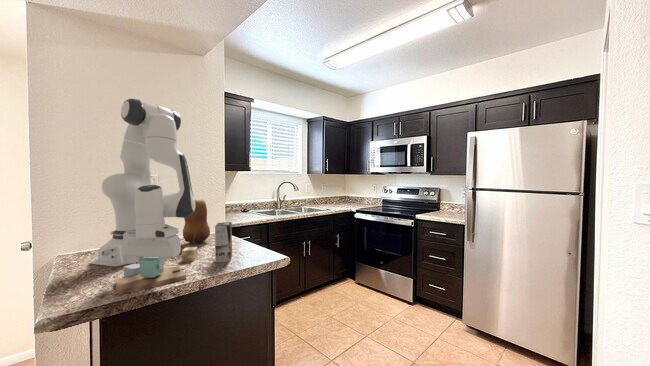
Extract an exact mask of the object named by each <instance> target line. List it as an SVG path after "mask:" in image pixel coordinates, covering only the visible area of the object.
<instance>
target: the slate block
mask: <svg viewBox="0 0 650 366" xmlns="http://www.w3.org/2000/svg"><path fill="white" fill-rule="evenodd" d="M139 274H140V264H139V263H131V264H127V265H124V266H123V278H124V277H129V276H134V275H139Z"/></svg>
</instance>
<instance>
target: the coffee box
mask: <svg viewBox="0 0 650 366" xmlns="http://www.w3.org/2000/svg"><path fill="white" fill-rule="evenodd" d="M232 225H233V224H232V221H226V222H217V223H216V225H214V243H215V245H214V246H215V247H214V248H215V251H214V253H215V254H214V255H215V256H214V257H215V261H214V262H215V263H224V262H225V263H226V262H227V263H228V262H231V260H232V256H233V235H232V232H233V231H232V229H233V227H232Z"/></svg>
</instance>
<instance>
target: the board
mask: <svg viewBox="0 0 650 366" xmlns="http://www.w3.org/2000/svg"><path fill="white" fill-rule="evenodd" d="M183 280H187V274H186V273H185V272H184V271H183V270H182V269H181V267H180V266H174V267H173V266H172V267H168V268H163V273H161V274H159V275H157V276H156V277H140V274H139V275H134V276H129V277H124V276H123V277H120V278H116V279H115V287H116V292H117V293H116V295H117V296H120V295H124V294H129V293H133V292H137V291H141V290H145V289H149V288H154V287H158V286H162V285H167V284H171V283H174V282H178V281H179V282H180V281H183Z"/></svg>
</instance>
